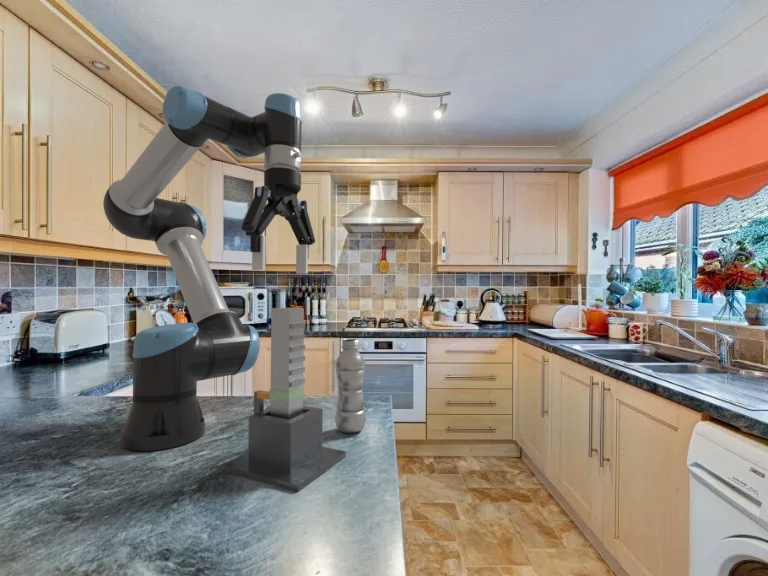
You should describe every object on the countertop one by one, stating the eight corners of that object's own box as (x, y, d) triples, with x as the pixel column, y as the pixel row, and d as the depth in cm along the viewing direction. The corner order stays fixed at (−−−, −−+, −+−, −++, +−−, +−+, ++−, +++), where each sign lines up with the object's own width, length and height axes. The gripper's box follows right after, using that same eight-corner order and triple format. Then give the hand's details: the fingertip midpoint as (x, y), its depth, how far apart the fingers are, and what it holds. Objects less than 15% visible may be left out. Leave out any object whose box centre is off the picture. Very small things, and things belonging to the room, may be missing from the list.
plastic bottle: (361, 437, 80) (361, 342, 80) (330, 435, 81) (331, 341, 82) (368, 427, 86) (369, 338, 87) (340, 425, 88) (340, 338, 88)
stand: (221, 470, 64) (222, 399, 65) (277, 442, 77) (278, 382, 77) (298, 491, 58) (298, 412, 58) (345, 456, 70) (346, 391, 71)
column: (268, 422, 67) (270, 308, 67) (285, 415, 70) (286, 307, 71) (290, 426, 65) (291, 308, 65) (305, 419, 68) (306, 308, 69)
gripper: (253, 147, 68) (251, 267, 67) (330, 185, 90) (329, 274, 90) (222, 154, 71) (220, 268, 70) (304, 188, 93) (303, 275, 93)
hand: (281, 272), depth 80 cm, fingers open, 13 cm apart
